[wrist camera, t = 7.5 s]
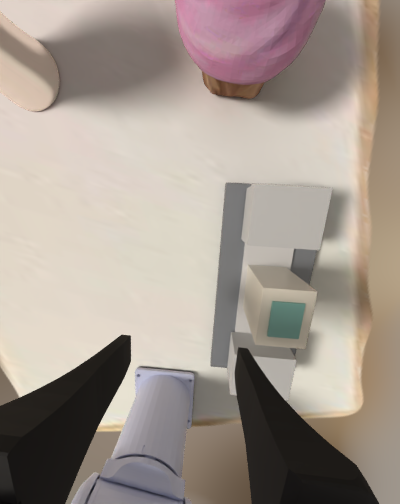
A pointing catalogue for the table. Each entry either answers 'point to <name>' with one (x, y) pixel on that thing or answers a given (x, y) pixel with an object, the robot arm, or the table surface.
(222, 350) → the rail board
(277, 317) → the block
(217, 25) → the cupcake
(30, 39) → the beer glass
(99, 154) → the table surface
